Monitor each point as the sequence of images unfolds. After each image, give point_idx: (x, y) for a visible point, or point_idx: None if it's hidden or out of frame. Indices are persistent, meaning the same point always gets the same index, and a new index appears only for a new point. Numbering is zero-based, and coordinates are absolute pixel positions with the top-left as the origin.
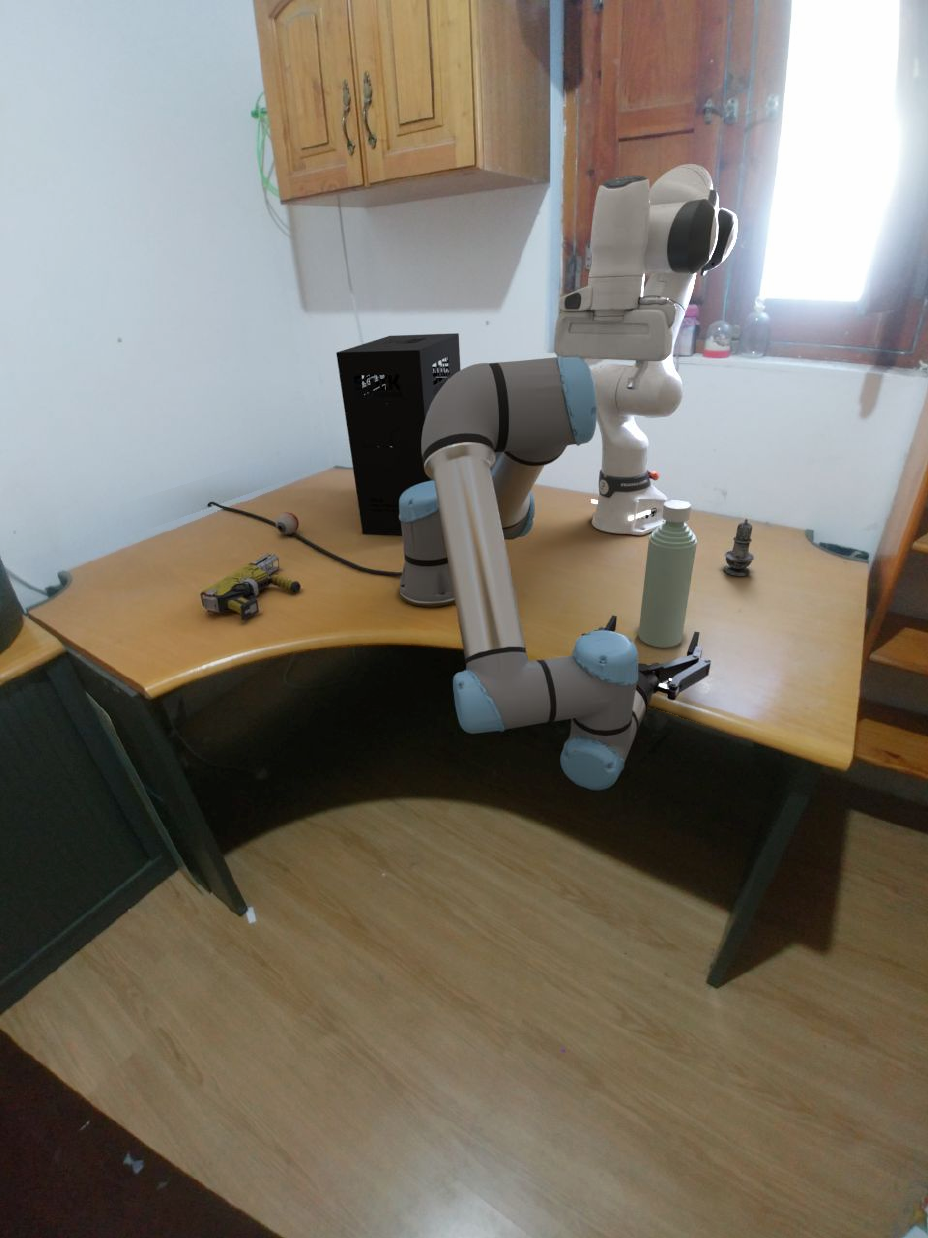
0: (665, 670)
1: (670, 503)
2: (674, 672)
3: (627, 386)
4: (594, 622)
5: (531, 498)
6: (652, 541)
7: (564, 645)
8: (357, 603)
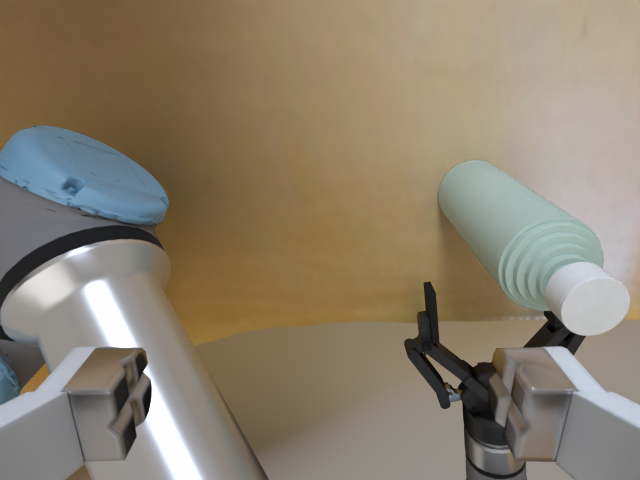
0: None
1: (577, 309)
2: None
3: (495, 416)
4: (363, 206)
5: (135, 216)
6: (511, 296)
7: (353, 284)
8: None
